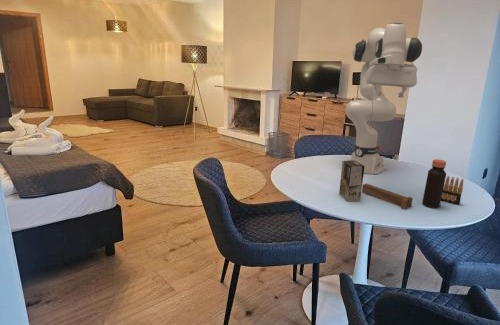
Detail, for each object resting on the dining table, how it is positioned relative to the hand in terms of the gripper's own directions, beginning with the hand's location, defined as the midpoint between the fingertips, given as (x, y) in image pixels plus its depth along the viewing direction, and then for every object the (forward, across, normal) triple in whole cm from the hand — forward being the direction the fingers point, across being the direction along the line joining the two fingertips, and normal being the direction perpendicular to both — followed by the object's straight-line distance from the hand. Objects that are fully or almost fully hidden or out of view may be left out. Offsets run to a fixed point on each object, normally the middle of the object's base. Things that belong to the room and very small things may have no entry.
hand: (389, 96), depth 139 cm
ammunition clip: (+43, -33, -9) cm, 55 cm away
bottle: (+44, -24, -4) cm, 51 cm away
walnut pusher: (+44, -5, -10) cm, 45 cm away
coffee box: (+44, +9, -12) cm, 47 cm away
